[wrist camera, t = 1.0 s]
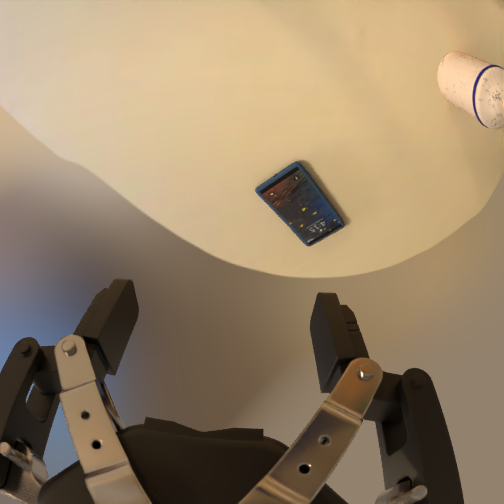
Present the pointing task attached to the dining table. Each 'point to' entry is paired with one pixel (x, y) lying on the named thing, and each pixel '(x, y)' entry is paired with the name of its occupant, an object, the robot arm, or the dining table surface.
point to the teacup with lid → (473, 87)
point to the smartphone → (300, 204)
